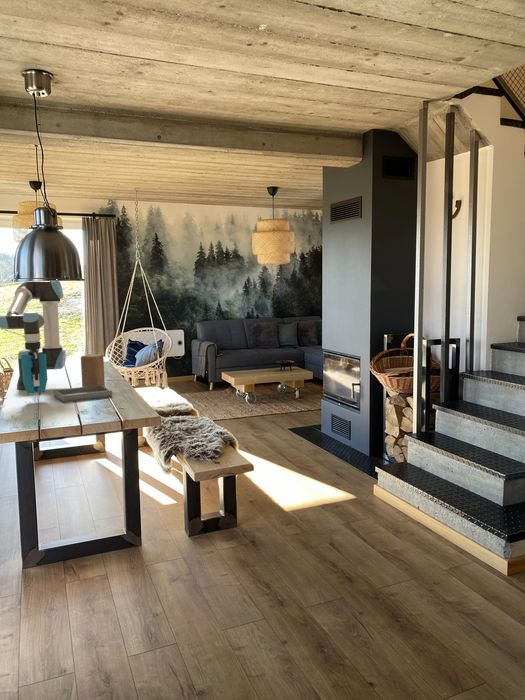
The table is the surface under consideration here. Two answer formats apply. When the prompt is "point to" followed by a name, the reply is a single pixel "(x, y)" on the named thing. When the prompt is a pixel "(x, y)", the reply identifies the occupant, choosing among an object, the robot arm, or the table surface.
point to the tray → (82, 393)
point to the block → (28, 378)
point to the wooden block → (92, 370)
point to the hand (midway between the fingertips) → (35, 384)
